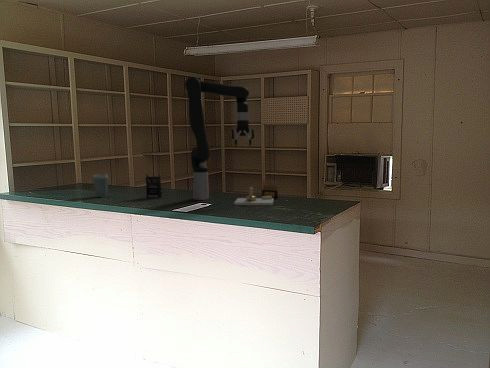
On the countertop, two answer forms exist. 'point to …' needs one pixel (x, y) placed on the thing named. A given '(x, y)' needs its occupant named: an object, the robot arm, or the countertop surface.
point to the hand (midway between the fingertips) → (243, 145)
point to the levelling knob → (251, 195)
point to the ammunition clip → (270, 189)
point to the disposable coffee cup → (100, 184)
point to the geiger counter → (153, 187)
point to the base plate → (255, 201)
